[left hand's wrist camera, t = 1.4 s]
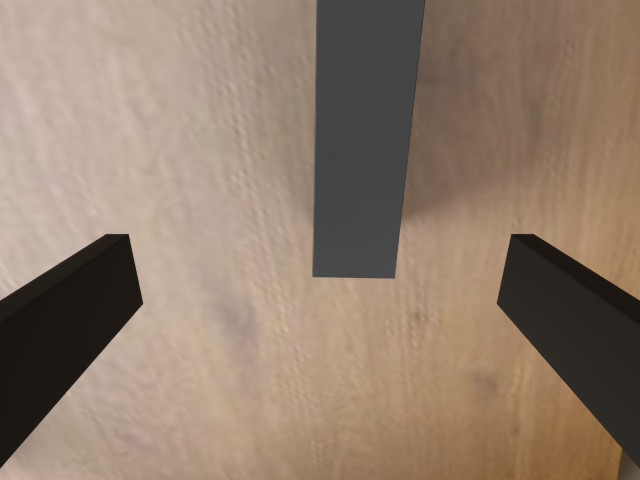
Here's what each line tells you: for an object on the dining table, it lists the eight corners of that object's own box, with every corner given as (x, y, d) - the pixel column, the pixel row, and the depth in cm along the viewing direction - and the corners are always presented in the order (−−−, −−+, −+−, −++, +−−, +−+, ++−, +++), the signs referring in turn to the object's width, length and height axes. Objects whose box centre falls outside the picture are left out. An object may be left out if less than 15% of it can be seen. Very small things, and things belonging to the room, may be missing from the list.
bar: (374, 230, 28) (394, 278, 20) (314, 229, 28) (312, 277, 20) (410, -211, 19) (471, -423, 11) (321, -214, 19) (323, -429, 11)
